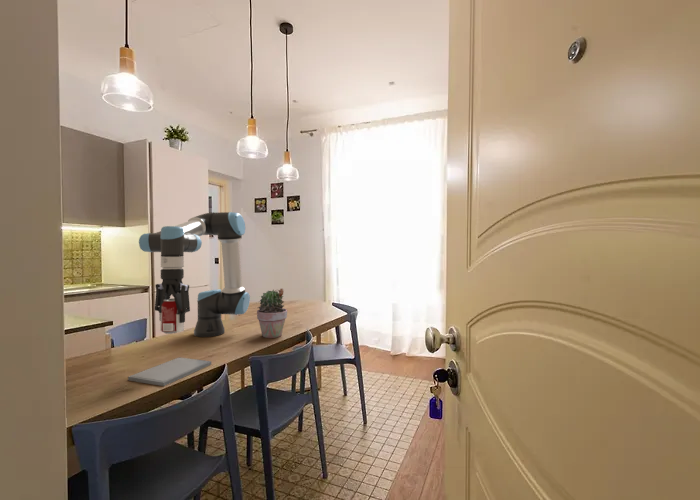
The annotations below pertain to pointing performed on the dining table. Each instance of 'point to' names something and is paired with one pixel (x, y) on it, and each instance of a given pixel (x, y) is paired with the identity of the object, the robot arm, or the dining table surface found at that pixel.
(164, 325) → the soda can
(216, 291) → the robot arm
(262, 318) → the potted plant
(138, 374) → the slate board
